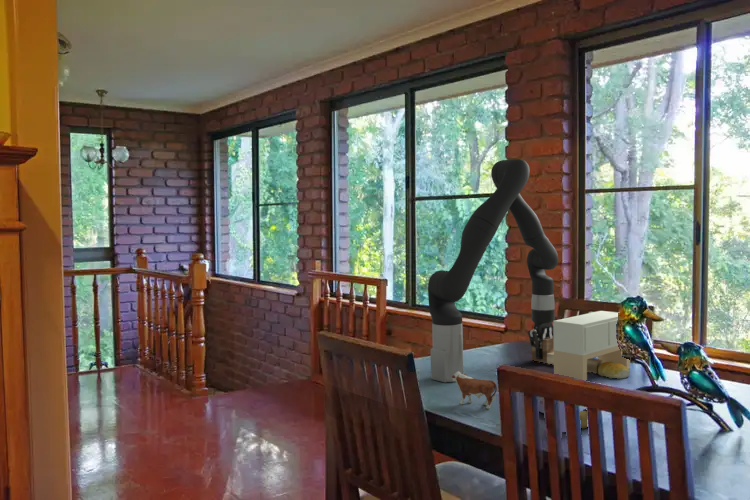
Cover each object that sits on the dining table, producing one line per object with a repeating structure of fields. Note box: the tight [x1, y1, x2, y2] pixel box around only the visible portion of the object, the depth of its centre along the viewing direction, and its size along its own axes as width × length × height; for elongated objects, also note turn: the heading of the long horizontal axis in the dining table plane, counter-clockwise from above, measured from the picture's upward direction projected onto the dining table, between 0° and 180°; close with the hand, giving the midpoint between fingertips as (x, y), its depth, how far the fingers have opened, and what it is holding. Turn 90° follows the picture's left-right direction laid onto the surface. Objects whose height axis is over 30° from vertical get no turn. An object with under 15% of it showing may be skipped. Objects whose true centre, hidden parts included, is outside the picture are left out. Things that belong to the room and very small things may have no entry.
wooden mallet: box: [531, 337, 603, 374], centre depth 202 cm, size 4×24×8 cm, turn 39°
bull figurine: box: [452, 371, 498, 410], centre depth 164 cm, size 4×13×8 cm, turn 51°
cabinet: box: [552, 310, 631, 381], centre depth 192 cm, size 26×10×18 cm, turn 129°
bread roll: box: [597, 362, 630, 380], centre depth 190 cm, size 8×9×4 cm
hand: (543, 357), depth 209 cm, fingers closed on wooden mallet, 4 cm apart
